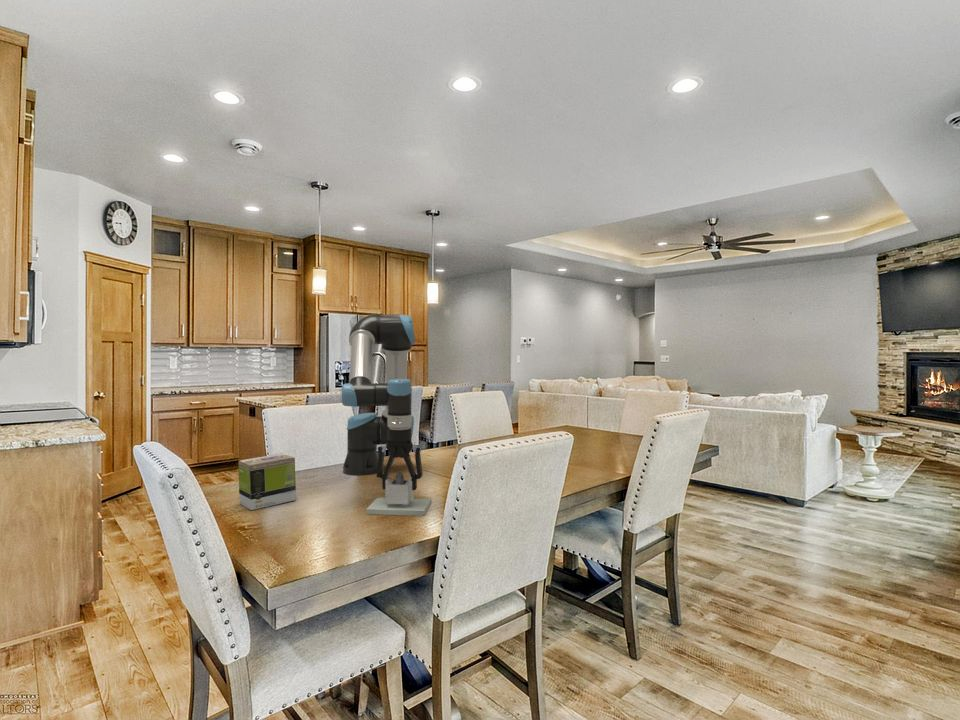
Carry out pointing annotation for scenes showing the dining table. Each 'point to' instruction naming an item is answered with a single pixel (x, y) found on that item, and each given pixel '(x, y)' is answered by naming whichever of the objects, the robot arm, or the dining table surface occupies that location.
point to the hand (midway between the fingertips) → (399, 499)
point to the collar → (398, 492)
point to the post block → (413, 508)
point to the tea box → (267, 481)
